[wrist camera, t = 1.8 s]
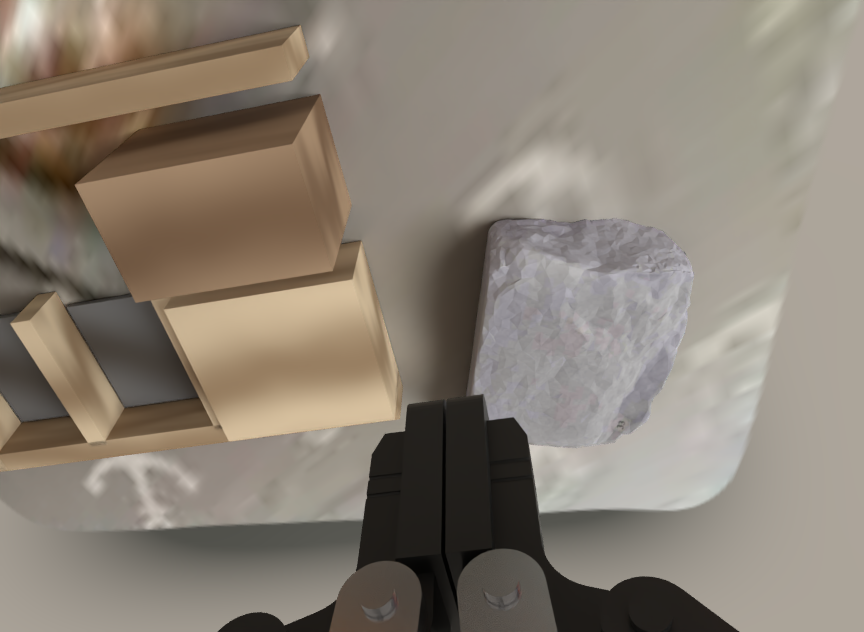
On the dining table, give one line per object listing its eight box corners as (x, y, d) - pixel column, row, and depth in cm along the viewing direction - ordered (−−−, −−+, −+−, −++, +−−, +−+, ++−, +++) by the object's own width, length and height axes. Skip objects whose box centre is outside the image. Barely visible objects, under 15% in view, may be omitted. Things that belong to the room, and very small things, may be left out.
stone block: (675, 202, 32) (470, 208, 30) (728, 254, 28) (497, 264, 27) (620, 389, 39) (450, 403, 37) (656, 451, 35) (470, 469, 33)
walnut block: (139, 129, 29) (74, 184, 24) (320, 93, 28) (292, 143, 23) (185, 233, 31) (135, 302, 26) (351, 204, 30) (332, 271, 25)
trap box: (-214, 132, 29) (-287, 162, 26) (300, 24, 26) (281, 45, 23) (13, 440, 39) (-22, 487, 36) (402, 387, 36) (398, 432, 33)
